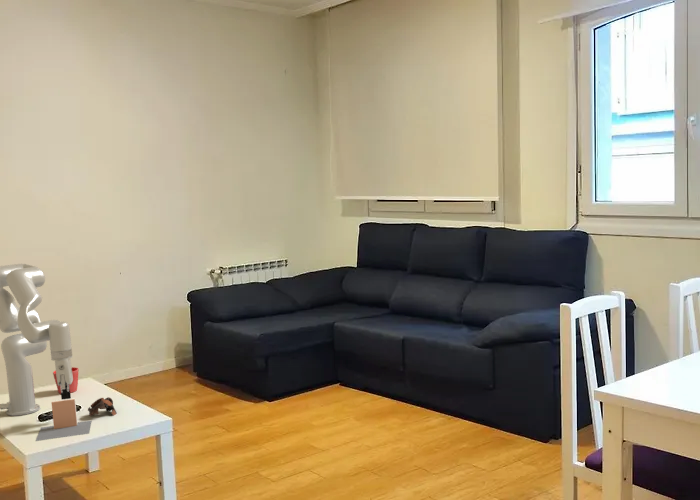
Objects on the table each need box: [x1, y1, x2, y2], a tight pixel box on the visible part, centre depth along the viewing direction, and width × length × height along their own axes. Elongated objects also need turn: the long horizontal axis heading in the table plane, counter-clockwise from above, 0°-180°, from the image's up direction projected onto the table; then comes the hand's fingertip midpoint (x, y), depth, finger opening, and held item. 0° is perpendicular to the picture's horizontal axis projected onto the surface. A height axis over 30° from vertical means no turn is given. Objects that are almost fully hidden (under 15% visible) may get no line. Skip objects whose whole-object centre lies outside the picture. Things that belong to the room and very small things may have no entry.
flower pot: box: [52, 366, 79, 395], centre depth 329 cm, size 11×11×10 cm
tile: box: [51, 397, 78, 429], centre depth 276 cm, size 8×2×10 cm, turn 106°
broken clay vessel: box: [87, 396, 117, 417], centre depth 289 cm, size 12×10×8 cm
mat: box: [35, 420, 92, 442], centre depth 272 cm, size 18×16×1 cm
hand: (66, 401), depth 283 cm, fingers closed
